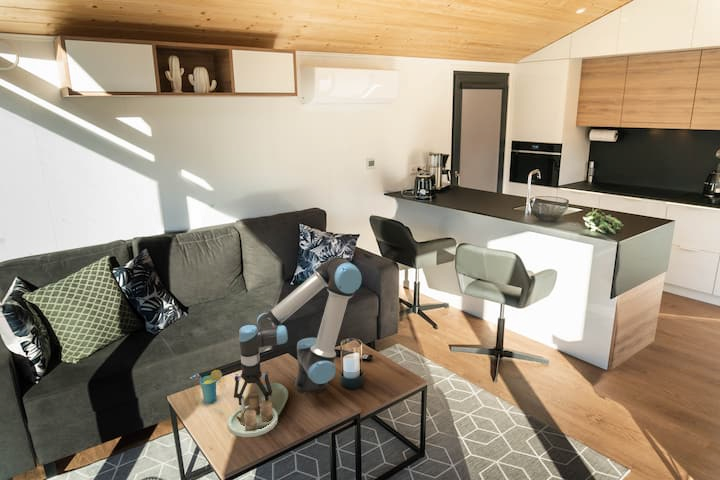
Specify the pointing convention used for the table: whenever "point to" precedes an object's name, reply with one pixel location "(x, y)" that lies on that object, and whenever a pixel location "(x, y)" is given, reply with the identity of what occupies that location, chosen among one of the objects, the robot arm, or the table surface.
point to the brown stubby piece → (254, 403)
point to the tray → (240, 429)
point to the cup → (209, 385)
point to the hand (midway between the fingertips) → (254, 410)
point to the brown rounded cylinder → (266, 411)
